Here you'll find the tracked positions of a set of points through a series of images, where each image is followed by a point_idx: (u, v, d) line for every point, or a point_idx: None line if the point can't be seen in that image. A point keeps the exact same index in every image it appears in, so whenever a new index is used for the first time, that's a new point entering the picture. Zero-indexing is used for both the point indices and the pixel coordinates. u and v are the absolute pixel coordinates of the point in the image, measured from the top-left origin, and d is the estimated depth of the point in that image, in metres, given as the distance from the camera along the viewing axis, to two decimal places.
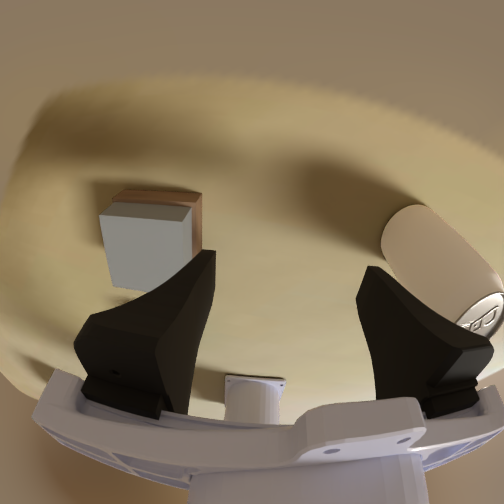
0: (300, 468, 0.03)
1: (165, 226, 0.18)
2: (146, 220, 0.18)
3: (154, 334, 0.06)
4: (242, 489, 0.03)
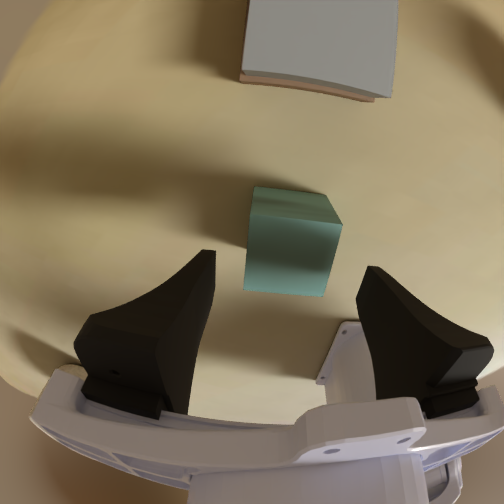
0: (300, 468, 0.03)
1: None
2: None
3: (154, 334, 0.06)
4: (242, 489, 0.03)
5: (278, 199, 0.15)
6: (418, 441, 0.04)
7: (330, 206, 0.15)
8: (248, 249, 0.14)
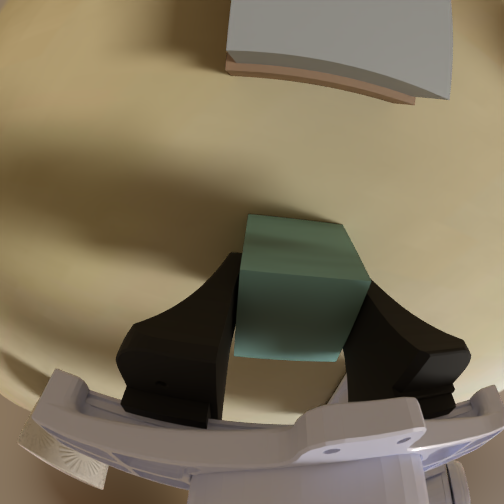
0: (300, 468, 0.03)
1: None
2: None
3: (211, 343, 0.06)
4: (242, 489, 0.03)
5: (281, 237, 0.11)
6: (418, 441, 0.04)
7: (351, 246, 0.11)
8: (239, 313, 0.10)
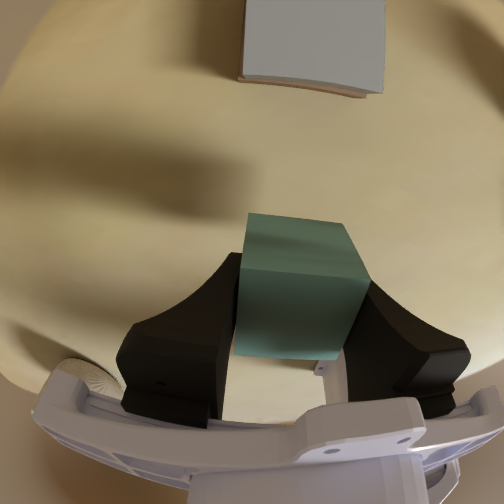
0: (300, 468, 0.03)
1: None
2: None
3: (211, 343, 0.06)
4: (242, 489, 0.03)
5: (281, 236, 0.11)
6: (418, 441, 0.04)
7: (351, 245, 0.11)
8: (239, 311, 0.10)
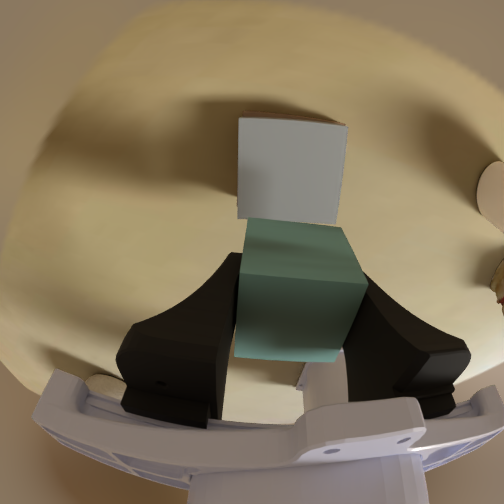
0: (300, 468, 0.03)
1: (328, 131, 0.15)
2: (306, 123, 0.15)
3: (211, 343, 0.06)
4: (242, 489, 0.03)
5: (280, 240, 0.11)
6: (418, 441, 0.04)
7: (349, 249, 0.11)
8: (238, 315, 0.10)
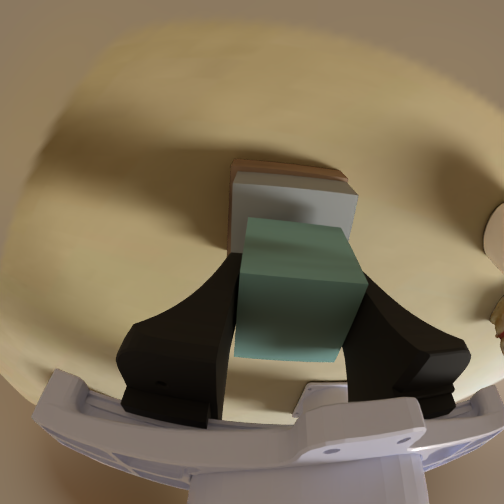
0: (300, 468, 0.03)
1: (335, 200, 0.14)
2: (311, 191, 0.14)
3: (211, 343, 0.06)
4: (242, 489, 0.03)
5: (280, 240, 0.11)
6: (418, 441, 0.04)
7: (349, 249, 0.11)
8: (239, 315, 0.10)
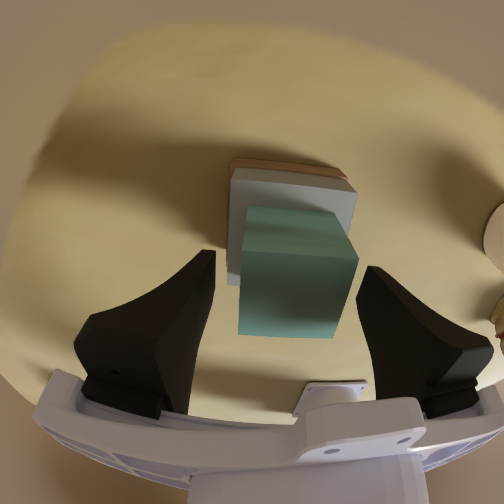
0: (300, 468, 0.03)
1: (334, 198, 0.14)
2: (310, 188, 0.13)
3: (154, 334, 0.06)
4: (242, 489, 0.03)
5: (278, 224, 0.12)
6: (418, 441, 0.04)
7: (341, 230, 0.12)
8: (241, 291, 0.11)
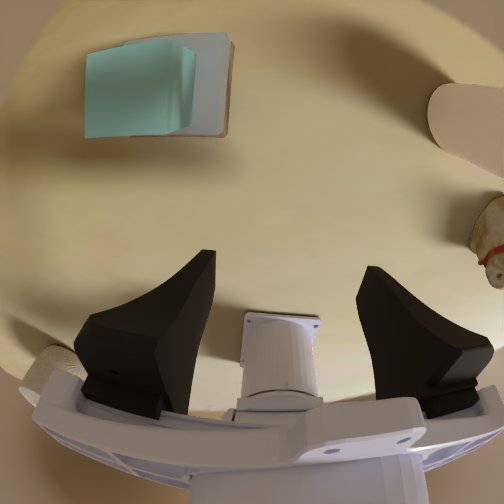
0: (300, 468, 0.03)
1: (204, 39, 0.12)
2: (182, 35, 0.12)
3: (154, 334, 0.06)
4: (242, 489, 0.03)
5: None
6: (418, 441, 0.04)
7: (184, 48, 0.11)
8: (85, 89, 0.10)
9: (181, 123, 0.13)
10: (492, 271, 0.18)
